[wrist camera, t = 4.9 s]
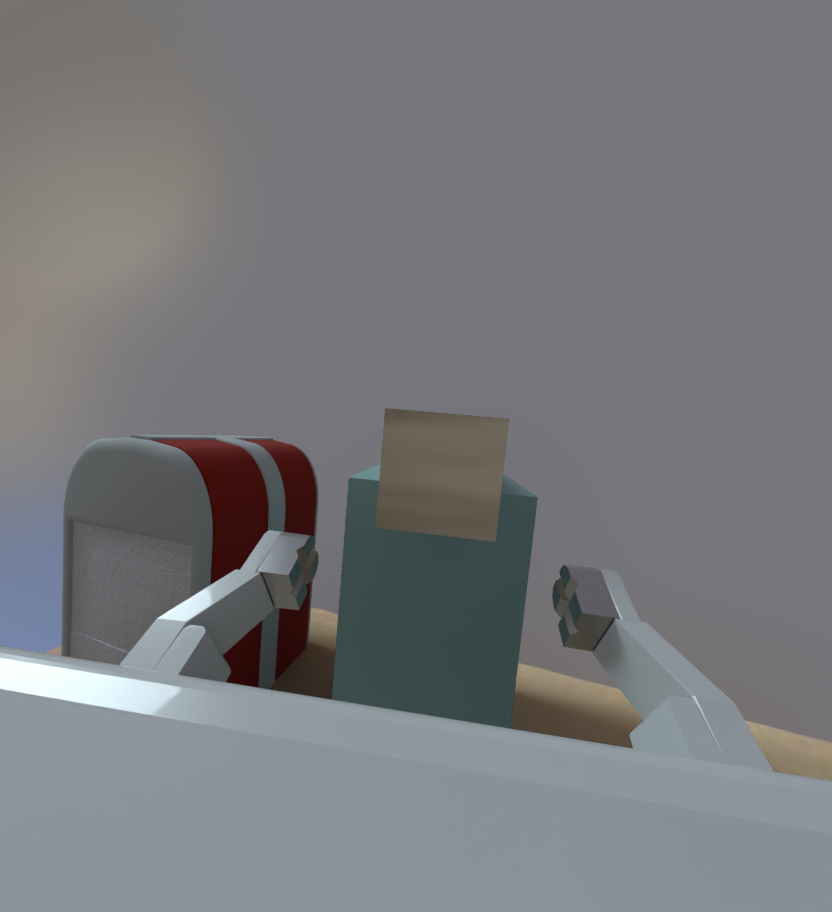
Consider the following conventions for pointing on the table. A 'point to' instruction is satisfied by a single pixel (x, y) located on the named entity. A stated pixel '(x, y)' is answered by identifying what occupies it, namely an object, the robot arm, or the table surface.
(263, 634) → the red striped toaster
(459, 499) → the rail
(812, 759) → the table surface
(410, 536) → the tall teal upright box
